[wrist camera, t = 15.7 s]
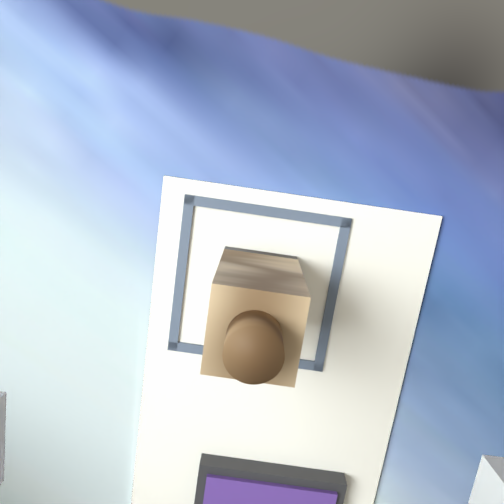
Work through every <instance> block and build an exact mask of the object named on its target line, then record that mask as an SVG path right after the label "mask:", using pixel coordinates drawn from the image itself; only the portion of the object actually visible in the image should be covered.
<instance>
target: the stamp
mask: <svg viewBox="0 0 504 504" xmlns="http://www.w3.org/2000/svg"><path fill="white" fill-rule="evenodd" d="M310 300H311V296H310V293H309V290H308V287H307V284H306V281H305V278H304V275H303V273H302V270H301V267H300V264H299V261H298V258H297V256H291V255H284V254H277V253H270V252H263V251H256V250H249V249H242V248H235V247H228V246H225V248H224V251H223V254H222V256H221V259H220V262H219V265H218V267H217V270H216V273H215V276H214V278H213V281H212V285H211V293H210V300H209V308H208V316H207V324H206V331H205V339H204V347H203V354H202V362H201V370H200V374H201V375H208V376H215V377H222V378H230V379H236V380H238V381H240V382H242V383H245V384H251V385H257V384H262V383H265V384H272V385H279V386H286V387H293V388H295V383H296V377H297V372H298V366H299V361H300V355H301V350H302V344H303V339H304V333H305V328H306V322H307V317H308V311H309V306H310Z"/></svg>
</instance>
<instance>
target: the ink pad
mask: <svg viewBox="0 0 504 504" xmlns="http://www.w3.org/2000/svg"><path fill="white" fill-rule="evenodd" d="M346 490H347V482H346V478H345V474H344V473H342V472H335V471H328V470H321V469H314V468H306V467H299V466H292V465H285V464H277V463H270V462H263V461H256V460H248V459H241V458H234V457H227V456H220V455H212V454H205V453H202V454H201V459H200V464H199V471H198V478H197V486H196V493H195V500H194V504H343V503H344V499H345V494H346Z"/></svg>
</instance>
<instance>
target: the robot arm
mask: <svg viewBox="0 0 504 504" xmlns="http://www.w3.org/2000/svg"><path fill="white" fill-rule="evenodd" d="M5 421H6V392H0V485H1V483H2V482H3V481H4V456H5ZM468 504H504V457H497V456H489V455H482V458H481V461H480V464H479V468H478V471H477V475H476V478H475V482H474V485H473V488H472V492H471V495H470V499H469V502H468Z"/></svg>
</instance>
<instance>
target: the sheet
mask: <svg viewBox="0 0 504 504" xmlns="http://www.w3.org/2000/svg"><path fill="white" fill-rule="evenodd" d="M441 221H442V216H438V215H431V214H424V213H418V212H411V211H404V210H397V209H390V208H384V207H377V206H370V205H363V204H356V203H349V202H343V201H336V200H329V199H322V198H315V197H309V196H302V195H295V194H288V193H281V192H275V191H268V190H261V189H254V188H247V187H240V186H234V185H227V184H220V183H213V182H206V181H200V180H193V179H186V178H179V177H172V176H165V175H164V178H163V188H162V198H161V208H160V218H159V228H158V238H157V248H156V258H155V268H154V278H153V288H152V298H151V309H150V319H149V329H148V339H147V349H146V359H145V369H144V379H143V389H142V399H141V409H140V419H139V429H138V439H137V449H136V460H135V470H134V480H133V490H132V500H131V504H194V500H195V493H196V486H197V478H198V471H199V464H200V459H201V454H202V453H205V454H212V455H220V456H227V457H234V458H241V459H248V460H256V461H263V462H270V463H277V464H285V465H292V466H299V467H306V468H314V469H321V470H328V471H335V472H342V473H344V474H345V478H346V482H347V490H346V494H345V499H344V503H343V504H373V503H374V499H375V495H376V491H377V487H378V483H379V478H380V474H381V470H382V466H383V462H384V458H385V453H386V449H387V445H388V441H389V437H390V433H391V429H392V424H393V420H394V416H395V412H396V408H397V404H398V399H399V395H400V391H401V387H402V383H403V379H404V374H405V370H406V366H407V362H408V358H409V354H410V349H411V345H412V341H413V337H414V333H415V329H416V325H417V320H418V316H419V312H420V308H421V304H422V300H423V295H424V291H425V287H426V283H427V279H428V275H429V270H430V266H431V262H432V258H433V254H434V250H435V245H436V241H437V237H438V233H439V229H440V225H441ZM225 246H228V247H235V248H242V249H249V250H256V251H263V252H270V253H277V254H284V255H291V256H297V258H298V261H299V264H300V267H301V270H302V273H303V275H304V278H305V281H306V284H307V287H308V290H309V293H310V296H311V300H310V306H309V311H308V317H307V322H306V328H305V333H304V339H303V344H302V350H301V355H300V361H299V366H298V372H297V377H296V383H295V388H293V387H286V386H279V385H272V384H265V383H262V384H257V385H251V384H245V383H242V382H240V381H238V380H236V379H230V378H222V377H215V376H208V375H201V374H200V370H201V362H202V354H203V347H204V339H205V331H206V324H207V316H208V308H209V300H210V293H211V285H212V281H213V278H214V276H215V273H216V270H217V267H218V265H219V262H220V259H221V256H222V254H223V251H224V248H225Z"/></svg>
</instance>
